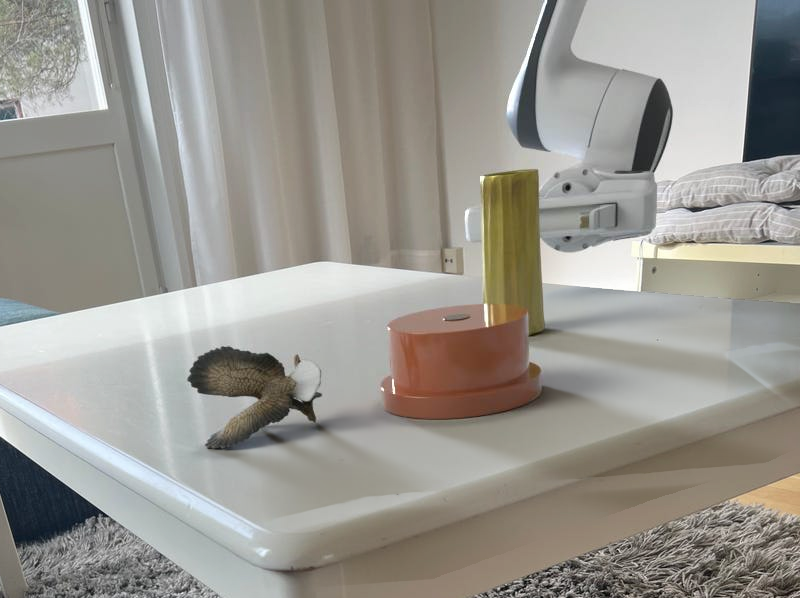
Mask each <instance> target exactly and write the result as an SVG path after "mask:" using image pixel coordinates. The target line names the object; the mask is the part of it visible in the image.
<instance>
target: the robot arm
mask: <svg viewBox="0 0 800 598" xmlns="http://www.w3.org/2000/svg"><path fill="white" fill-rule="evenodd" d="M587 2H588V0H543V3H542V6H541V9H540V12H539V15H538V18H537V20H536V24H535V27H534V31H533V34H532V36H531V40H530V42H529V46H528V49H527V51H526V54H525V56H524V59H523V62H522V64H521V67H520V69H519V71H518V74H517V76H516V78H515V80H514V83H513V85H512V88H511V90H510V93H509V97H508V100H507V107H506V115H505V117H506V118H505V120H506V121H507V124H508V127H509V130H510V131H511V133H512V135H513V136H514V138H515V140H516V141H517V143H518V144H519V146H520V147H521V148H523V149H530V150H534V151H535V150H536V151H541V152H548V153H550V152H551V153H556V154H560V155H563V156H567V157H570V158H575V159H578V160H580V161H581V162H579V163H578V164H577V163H576V164H574V165H571V166H569V167H566V168H562V169H560V170H558V171H556V172H554V173H553V174H551V175H550V176H549V177H548V178H547V179H546V180H545V181H544V182H543V183H542V185H541V186H540V187H539V225H540V240H542V242H544V244H546V246H548V247H550V248H551V249H553V250H555V251H557V252H560V253H568V254H569V253H571V254H573V253H578V252H581V251H584V250H586V249H589V248H590V247H592V248H594V247H597V246H600V245H602V244H605V243H608V242H612V241H614V242H615V241H620V240H625V239H627V240H628V239H634V238H635V239H636V238H639V237H645V236H648V235H651V234H652V233H653V230H655V229H656V226H657V211H658V183H657V182H656V181H655V178H656V177H655V172H656V170H657V168H658V167H659V165H660V163H661V159H662V157H663V155H664V153H665V150H666V147H667V144H668V141H669V137H670V134H671V129H672V126H673V118H674V117H673V116H674V111H673V110H674V108H673V103H672V100H671V96H670V93H669V90H668V88H667V86H666V84H665V82H664V81H663V79H662V78H659V77H655V76H652V75H647V74H644V73H640V72H637V71H632V70H628V69H624V68H622V69H621V68H617V67H612V66H608V65H604V64H601V63H596V62H592V61H588V60H584V59H581V58H580V57H577V56H576V55H575V54H574V52H573V51H572V42H573V39H574V37H575V34H576V31H577V28H578V26H579V24H580V21H581V18H582V16H583V13H584V9H585V7H586V4H587ZM464 214H465V215H464V229H465V237H466V240H467V241H468V242H470V243H474V244H475V243H477V244H478V243H482V217H481V204H477V205H474V206H470V207H468V208H466V210H465V212H464Z"/></svg>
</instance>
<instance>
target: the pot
mask: <svg viewBox="0 0 800 598" xmlns="http://www.w3.org/2000/svg"><path fill="white" fill-rule="evenodd" d="M386 334H387V343H388V345H387V346H388V355H389V356H388V357H389V368H390V374H389V375H388V376H386V377H385V378H384V379H382V381H380V384H379V385H380V396H381V398H380V399H381V406H382V408H383V409H384V410H385V411H386V412H388V413H390V414H393V415H395V416H399V417H405V418H409V419H410V418H411V419H422V420H423V419H424V420H448V419H449V420H452V419H463V418H474V417H481V416H486V415H488V416H489V415H492V414H497V413H501V412H507V411H510V410H513V409H517V408H519V407H523V406H524V405H527V404H529V403H531V402H533V401H535V400H536V399H538V398H539V397H540V396H541V394H542V391H543V385H542V384H543V383H542V381H543V379H542V368H541V367H540V366H539V365H538V364H537V363H534V362H532V361H530V335H529V328H528V310H527V309H525V308H523V307H520V306H515V305H506V304H483V303H478V304H477V303H475V304H462V305H453V306H444V307H438V308H437V307H436V308H432V309H425V310H421V311H417V312H413V313H409V314H405V315H402V316H399V317H397V318H394V319H392V320H391V321H389V322H387V325H386Z"/></svg>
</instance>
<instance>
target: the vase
mask: <svg viewBox="0 0 800 598" xmlns="http://www.w3.org/2000/svg"><path fill="white" fill-rule="evenodd" d="M479 184H480V185H479V186H480V205H481V217H482V242H481V265H482V267H481V268H482V304H506V305H515V306H520V307H523V308H525V309H527V310H528V328H529V336H533V335H537V334H539V333H541V332H543V331H544V330H545V328H546V322H545V321H546V320H545V313H544V312H545V311H544V294H543V293H544V292H543V276H542V273H543V272H542V255H541V254H542V253H541V238H540V225H539V189H540V174H539V169H537V168H527V169H517V170H508V171H500V172H493V173H488V174H483V175H481V176H480V178H479Z"/></svg>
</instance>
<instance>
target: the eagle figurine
mask: <svg viewBox="0 0 800 598" xmlns="http://www.w3.org/2000/svg"><path fill="white" fill-rule="evenodd" d="M293 358H294V359H293V366H294V369H293V370H292V371H291V373H290V374H289V375H286V372H285V367H284V365H283V362H280V361H279V359H277V358H276V357H275V356H274V355H272V354H270V353H269V352H263V353H262V352H260V353H257V352H252V351H250V350H240V348H233V347H232V346H230V345H227V346H223V345H222V346H220V348H219V347H216V348H214V349H210V350H209V351H206V352H204V353H203V354H201V355H199V356H197V360H194V361H193V362H192V367H190V368H189V371H188V372H189V375H188V377H187V379H186V381H187V382H188V383H190V386H191V388H193V389H194V388H195V389H197V390H196V392H197V393H198V394H201V395H206V396H220V397H228V398H238V397H248V398H249V397H251V398H255V399H257V401H256V402H254V403H252V404H251V405H250V406H248V407H246V408H244V409H243V410H241V411H239V412H238V413H236V414H234V415H233V416H231V418H230V419H229V420H228V421H227V422H226V424H225V425H224V426H223V428H221V429H220V430H218V431H216V432H214V433H212V434H211V435H210V438H208V439H207V440H206V441H207V442H206V443H204V446H205V447H206V449H211V448H212V449H218V448H221V449H225V448H231V447H234V446H236V445H238V444H241V443H243V442H244V441H245V440H248V439H250V438H251V436H252V435H254V434H255V433H258V432H259V431H260V430H261V429H263V428H265V427H266V426H269V425H270V424H275V423H280V422H281V421H283V420H284V418H285V417H288V416H289V413H290V412H291V410H296V411H298V412H300V413H302V414H303V416H305V417H307V420H308V421H310V422H313V423H316V422H317V416H316V414H315V410H314V400H316V399H319V398H322V397H323V393H322V392H318V389H319V388H320V387H321V385H322V370H321V367H320V366H319V365H318V364H317V363H316V362H315V361H312V360H311V359H308V358H304V359H302V360H301V358H300V356H299V354H295V355H294V357H293Z"/></svg>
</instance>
